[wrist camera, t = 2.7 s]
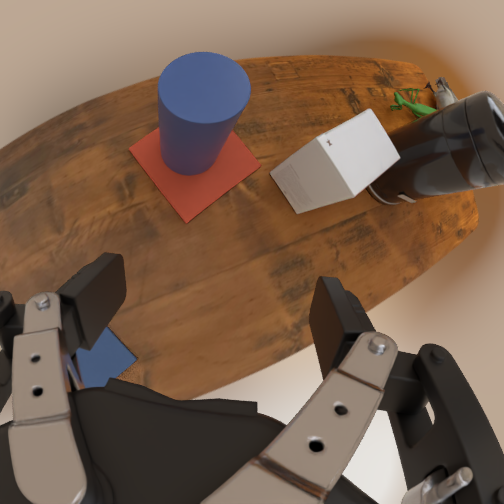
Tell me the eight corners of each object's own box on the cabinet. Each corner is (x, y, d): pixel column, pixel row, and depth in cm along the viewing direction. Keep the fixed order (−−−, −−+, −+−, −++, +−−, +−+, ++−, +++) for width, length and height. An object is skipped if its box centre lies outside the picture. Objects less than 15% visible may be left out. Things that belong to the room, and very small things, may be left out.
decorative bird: (473, 158, 36) (479, 147, 38) (441, 76, 31) (449, 74, 34) (451, 161, 41) (458, 150, 43) (419, 84, 36) (429, 80, 39)
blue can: (196, 113, 26) (215, 40, 15) (230, 153, 28) (269, 96, 16) (149, 143, 25) (140, 77, 14) (183, 187, 26) (194, 141, 15)
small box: (295, 215, 30) (353, 199, 20) (267, 172, 29) (314, 137, 19) (342, 180, 32) (403, 158, 22) (317, 142, 31) (371, 106, 21)
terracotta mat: (205, 100, 27) (205, 98, 27) (260, 166, 29) (261, 165, 29) (128, 149, 25) (128, 148, 25) (186, 223, 27) (186, 223, 26)
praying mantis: (369, 83, 34) (385, 70, 30) (424, 95, 38) (440, 86, 33) (388, 136, 35) (408, 126, 30) (441, 140, 38) (458, 133, 34)
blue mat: (73, 284, 23) (72, 284, 23) (137, 358, 25) (136, 359, 25) (23, 339, 21) (22, 340, 21) (82, 405, 23) (81, 407, 23)
